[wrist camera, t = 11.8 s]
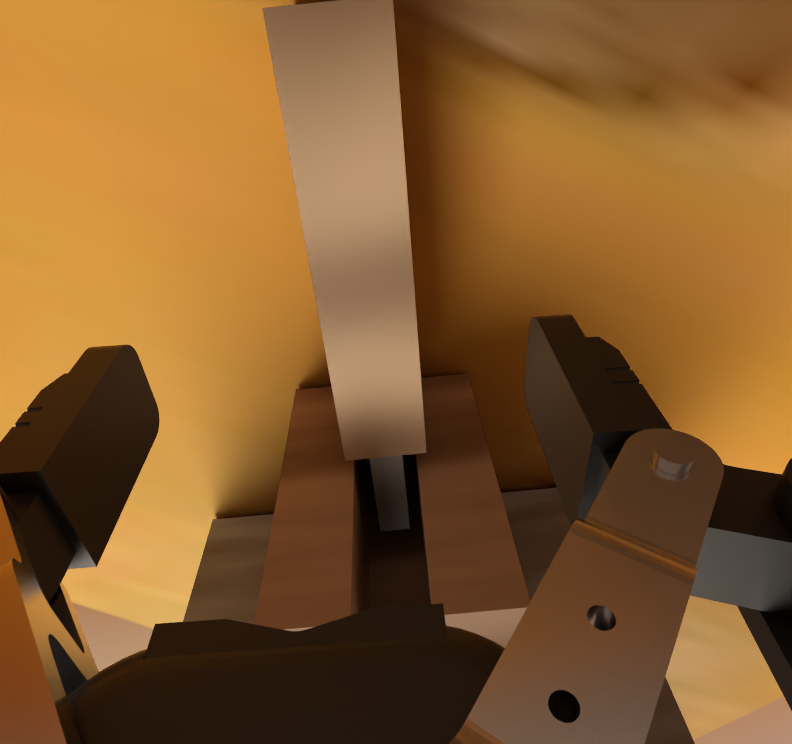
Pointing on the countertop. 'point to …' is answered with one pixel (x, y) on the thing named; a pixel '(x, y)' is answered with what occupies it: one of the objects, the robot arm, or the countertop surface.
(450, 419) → the slotted block base plate
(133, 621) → the countertop surface
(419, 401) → the rail
